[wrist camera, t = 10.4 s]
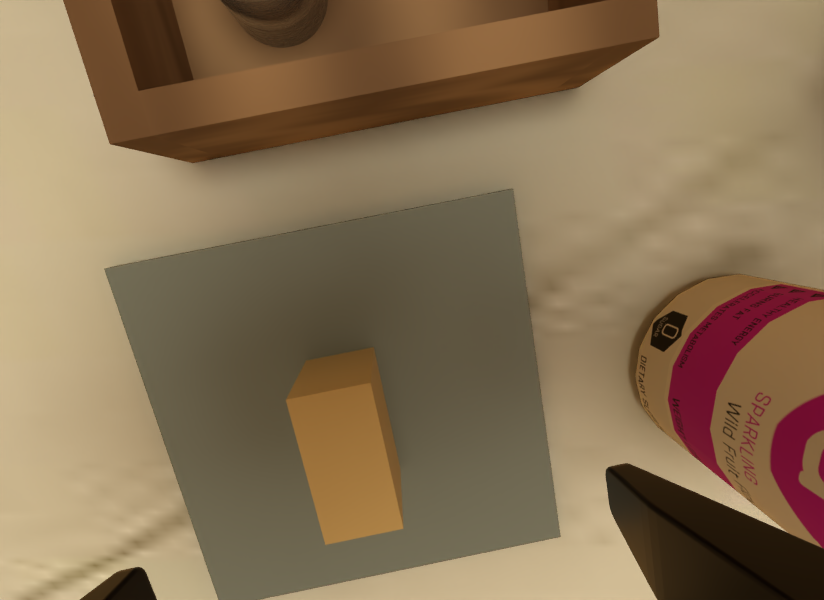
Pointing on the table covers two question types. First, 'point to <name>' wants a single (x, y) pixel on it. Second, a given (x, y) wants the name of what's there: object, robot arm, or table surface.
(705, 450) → the supplement can
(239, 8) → the grey metal cylinder
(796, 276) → the table surface
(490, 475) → the lid
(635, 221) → the table surface
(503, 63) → the box
